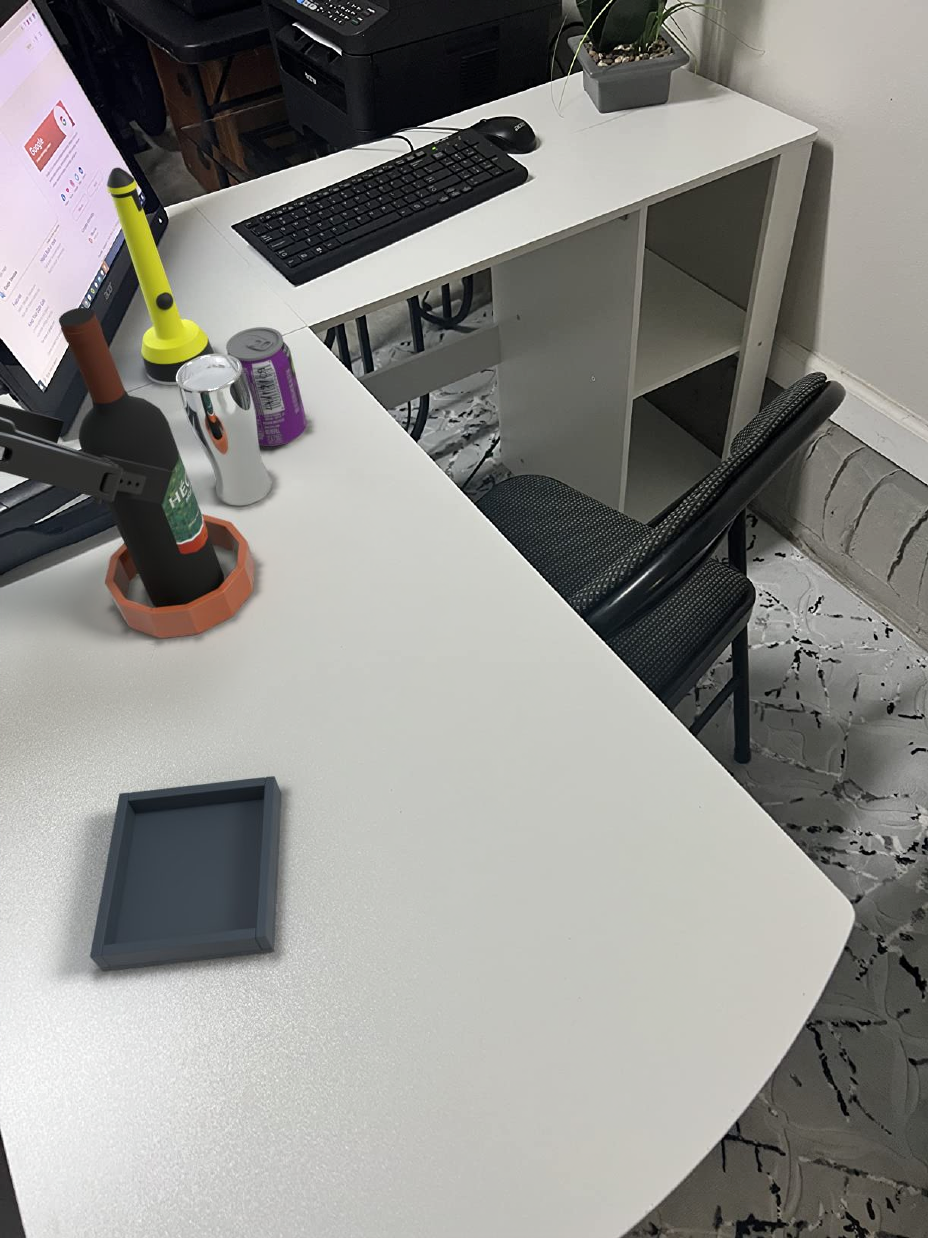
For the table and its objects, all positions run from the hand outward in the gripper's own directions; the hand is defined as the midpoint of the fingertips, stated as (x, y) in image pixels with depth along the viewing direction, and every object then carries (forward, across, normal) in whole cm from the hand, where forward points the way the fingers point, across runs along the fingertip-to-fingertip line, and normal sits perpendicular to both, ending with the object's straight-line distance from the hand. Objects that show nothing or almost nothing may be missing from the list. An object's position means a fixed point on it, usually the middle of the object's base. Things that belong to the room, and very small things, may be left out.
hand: (109, 459), depth 80 cm
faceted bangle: (+16, -2, -11) cm, 20 cm away
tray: (+1, +22, -27) cm, 35 cm away
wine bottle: (+16, -2, -11) cm, 20 cm away
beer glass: (+26, -8, -1) cm, 27 cm away
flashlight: (+36, -33, +8) cm, 49 cm away
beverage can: (+33, -12, +6) cm, 35 cm away
